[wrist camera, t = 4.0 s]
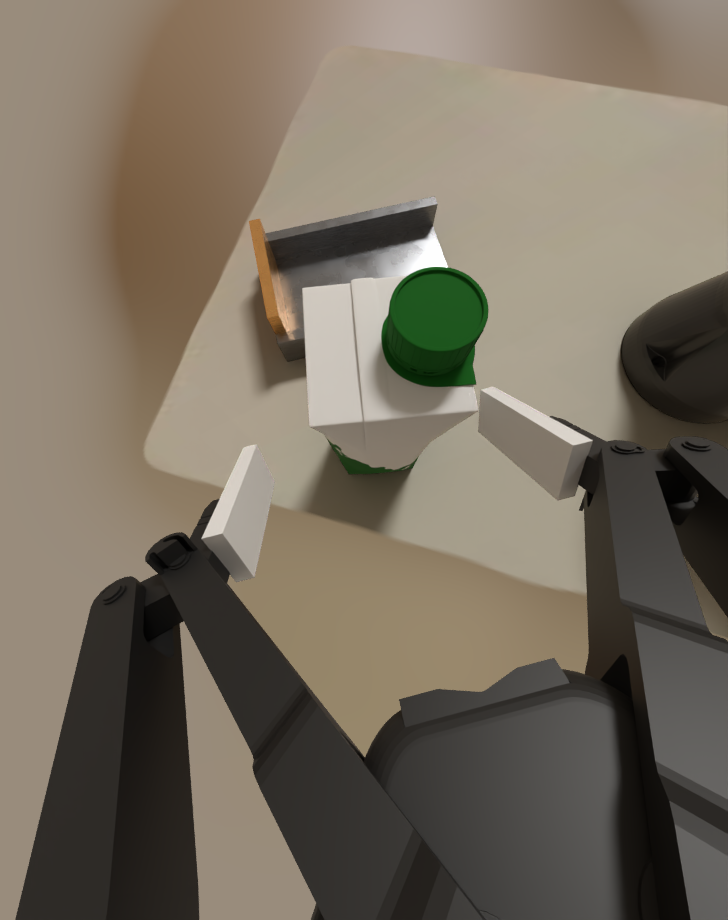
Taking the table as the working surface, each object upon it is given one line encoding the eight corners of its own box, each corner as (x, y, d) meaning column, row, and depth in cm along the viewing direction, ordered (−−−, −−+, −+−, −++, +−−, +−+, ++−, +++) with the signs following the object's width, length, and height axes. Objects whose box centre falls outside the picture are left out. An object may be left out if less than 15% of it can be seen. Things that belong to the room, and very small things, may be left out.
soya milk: (421, 475, 30) (519, 404, 10) (339, 483, 30) (276, 427, 10) (411, 401, 31) (479, 214, 12) (334, 408, 31) (271, 235, 12)
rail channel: (428, 226, 36) (439, 170, 30) (461, 321, 33) (481, 280, 27) (268, 262, 35) (247, 212, 30) (287, 361, 33) (269, 328, 27)
